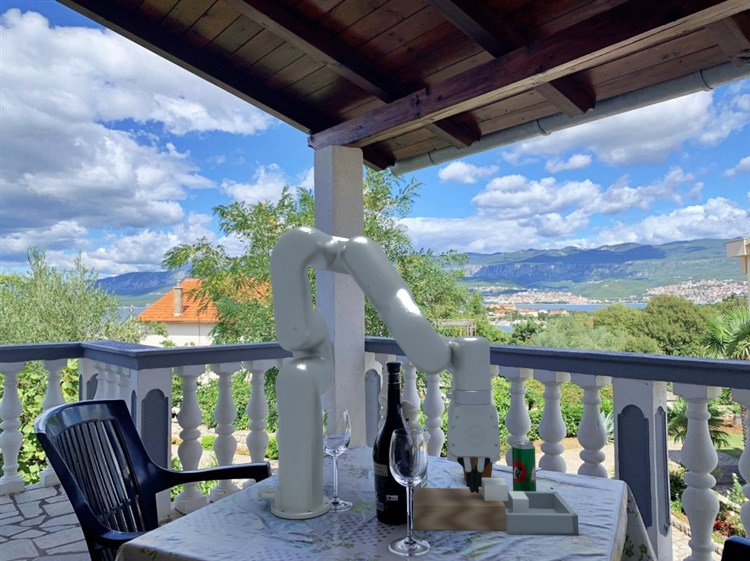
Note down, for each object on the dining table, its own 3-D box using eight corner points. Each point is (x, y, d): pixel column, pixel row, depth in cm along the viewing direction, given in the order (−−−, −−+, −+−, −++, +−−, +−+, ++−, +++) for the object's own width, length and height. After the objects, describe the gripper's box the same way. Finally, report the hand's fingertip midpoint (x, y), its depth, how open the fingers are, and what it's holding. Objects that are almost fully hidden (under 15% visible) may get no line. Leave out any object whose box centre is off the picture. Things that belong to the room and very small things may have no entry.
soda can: (537, 500, 113) (536, 445, 114) (513, 499, 114) (512, 444, 115) (535, 493, 118) (533, 439, 119) (512, 491, 119) (511, 438, 120)
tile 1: (484, 500, 101) (484, 484, 101) (481, 492, 105) (480, 477, 105) (508, 500, 100) (507, 485, 101) (503, 493, 105) (503, 477, 105)
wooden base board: (410, 529, 98) (410, 505, 99) (409, 509, 108) (409, 487, 109) (505, 530, 97) (505, 506, 98) (496, 510, 107) (495, 488, 108)
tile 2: (513, 498, 100) (528, 499, 100) (508, 491, 105) (523, 491, 105) (513, 522, 100) (529, 523, 100) (508, 513, 105) (523, 514, 104)
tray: (507, 534, 96) (507, 514, 96) (494, 508, 109) (494, 491, 109) (578, 535, 95) (578, 515, 95) (557, 508, 108) (556, 491, 108)
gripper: (436, 400, 101) (437, 496, 100) (513, 400, 100) (516, 497, 99) (433, 394, 108) (435, 484, 107) (505, 394, 108) (508, 484, 106)
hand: (474, 490), depth 103 cm, fingers closed
